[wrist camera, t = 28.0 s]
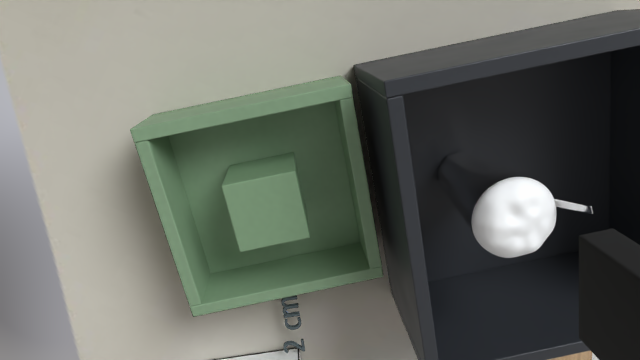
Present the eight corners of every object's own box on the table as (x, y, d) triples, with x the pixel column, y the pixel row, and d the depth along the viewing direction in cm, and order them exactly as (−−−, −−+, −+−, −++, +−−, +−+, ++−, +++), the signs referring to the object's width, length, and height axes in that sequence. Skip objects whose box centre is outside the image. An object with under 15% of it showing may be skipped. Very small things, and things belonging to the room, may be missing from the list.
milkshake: (509, 185, 33) (600, 249, 23) (438, 212, 33) (500, 287, 24) (493, 126, 31) (584, 169, 22) (419, 156, 32) (477, 211, 22)
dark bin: (353, 64, 30) (383, 80, 21) (616, 10, 30) (761, 2, 21) (391, 294, 36) (428, 385, 26) (613, 247, 36) (725, 322, 27)
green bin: (151, 114, 30) (129, 129, 26) (341, 75, 30) (350, 83, 26) (204, 280, 34) (192, 317, 30) (371, 245, 34) (384, 277, 30)
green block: (229, 164, 31) (220, 186, 27) (293, 151, 31) (295, 170, 27) (245, 223, 32) (239, 252, 28) (307, 210, 32) (310, 238, 28)
